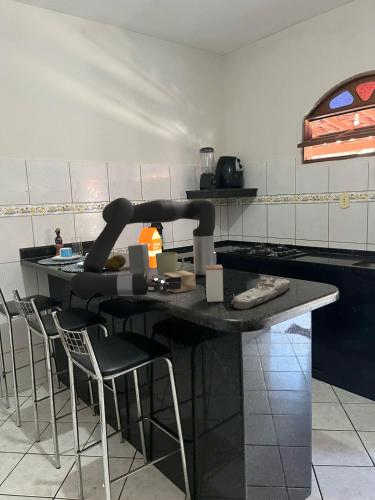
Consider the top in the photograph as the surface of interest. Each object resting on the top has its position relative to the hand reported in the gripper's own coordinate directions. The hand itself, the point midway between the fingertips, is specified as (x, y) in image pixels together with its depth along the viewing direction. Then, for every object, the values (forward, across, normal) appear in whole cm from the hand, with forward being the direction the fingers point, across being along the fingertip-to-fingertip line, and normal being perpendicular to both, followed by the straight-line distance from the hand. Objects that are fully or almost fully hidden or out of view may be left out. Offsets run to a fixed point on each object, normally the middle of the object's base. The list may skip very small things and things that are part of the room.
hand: (181, 282), depth 127 cm
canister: (+11, 0, +6) cm, 13 cm away
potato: (-34, +62, +6) cm, 71 cm away
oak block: (-1, +18, +6) cm, 19 cm away
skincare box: (-18, +33, +6) cm, 38 cm away
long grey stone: (+28, +2, +7) cm, 28 cm away
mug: (-6, +30, +6) cm, 31 cm away
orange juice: (-17, +71, +6) cm, 73 cm away
